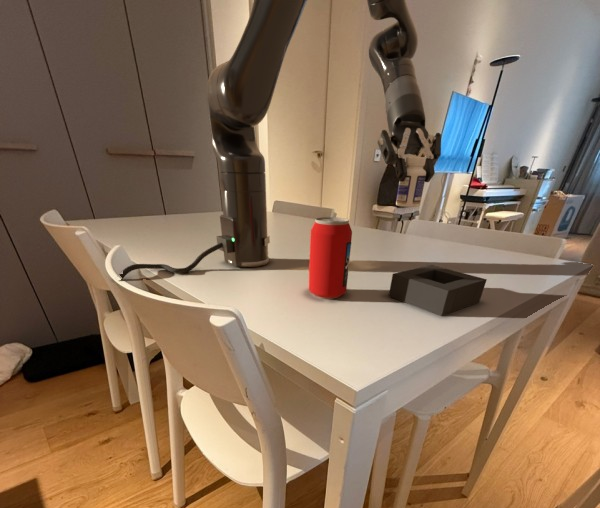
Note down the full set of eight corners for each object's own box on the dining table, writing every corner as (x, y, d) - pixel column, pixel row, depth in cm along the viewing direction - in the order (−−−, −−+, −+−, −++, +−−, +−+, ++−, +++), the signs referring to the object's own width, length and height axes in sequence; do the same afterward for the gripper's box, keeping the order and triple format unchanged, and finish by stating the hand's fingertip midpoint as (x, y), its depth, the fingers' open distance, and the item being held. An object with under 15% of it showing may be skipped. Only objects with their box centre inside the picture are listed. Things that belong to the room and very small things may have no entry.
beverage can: (353, 296, 60) (362, 221, 53) (322, 303, 57) (327, 224, 50) (331, 286, 64) (336, 215, 57) (301, 291, 61) (303, 217, 54)
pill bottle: (417, 205, 77) (426, 157, 72) (421, 207, 73) (432, 157, 67) (393, 204, 77) (401, 156, 72) (397, 206, 73) (405, 156, 68)
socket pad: (441, 316, 53) (448, 290, 51) (388, 296, 60) (392, 273, 58) (479, 302, 58) (487, 279, 56) (426, 286, 65) (431, 264, 63)
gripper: (379, 89, 68) (392, 162, 66) (443, 94, 70) (458, 164, 68) (366, 125, 75) (377, 192, 73) (425, 128, 78) (437, 193, 75)
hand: (416, 178), depth 70 cm, fingers closed on pill bottle, 5 cm apart
